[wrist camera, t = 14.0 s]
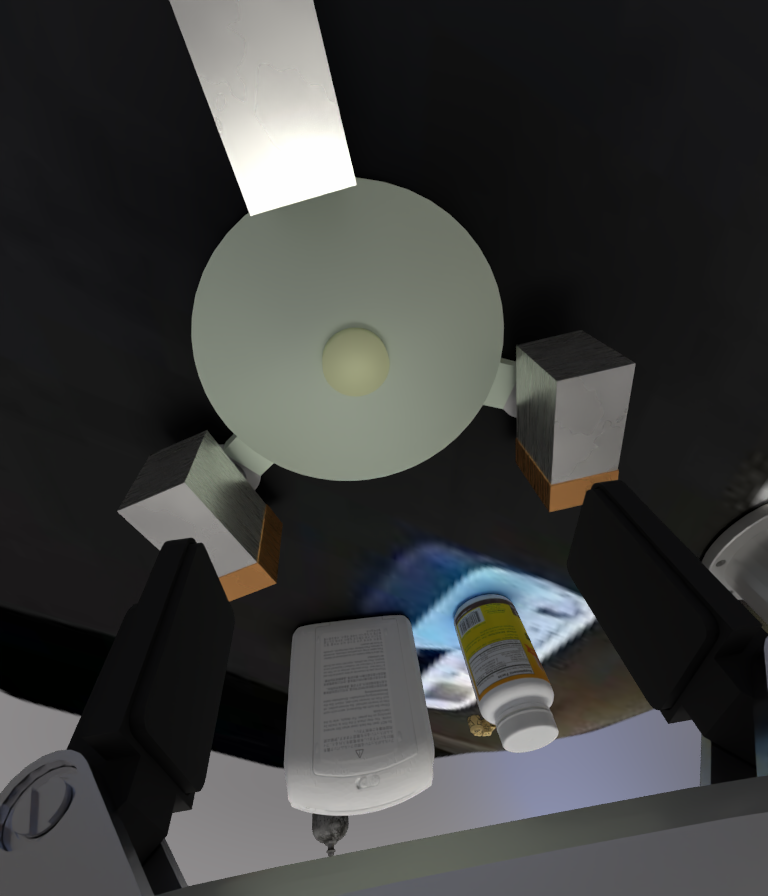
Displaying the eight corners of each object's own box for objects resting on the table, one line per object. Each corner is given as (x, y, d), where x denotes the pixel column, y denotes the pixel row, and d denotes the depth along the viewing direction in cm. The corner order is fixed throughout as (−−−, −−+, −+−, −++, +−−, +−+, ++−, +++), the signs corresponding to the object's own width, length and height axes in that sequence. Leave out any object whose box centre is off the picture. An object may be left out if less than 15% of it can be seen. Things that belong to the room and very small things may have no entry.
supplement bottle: (506, 626, 39) (558, 752, 31) (448, 632, 38) (485, 763, 30) (518, 587, 36) (580, 715, 27) (456, 593, 35) (499, 727, 27)
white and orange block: (504, 336, 22) (556, 382, 18) (568, 321, 22) (637, 363, 18) (507, 450, 27) (549, 512, 22) (560, 437, 27) (614, 496, 22)
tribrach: (572, 393, 26) (597, 415, 23) (294, 558, 30) (292, 591, 28) (354, -106, 14) (361, -161, 11) (-47, 294, 19) (-98, 312, 16)
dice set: (465, 710, 49) (470, 729, 47) (508, 701, 49) (514, 719, 47) (466, 729, 52) (471, 747, 50) (507, 721, 52) (513, 738, 50)
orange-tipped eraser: (347, 180, 18) (358, 184, 13) (267, 203, 18) (248, 216, 13) (279, -96, 13) (257, -247, 8) (174, -63, 13) (94, -194, 9)
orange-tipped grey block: (157, 440, 23) (115, 512, 18) (213, 416, 23) (185, 483, 18) (235, 528, 27) (218, 605, 22) (283, 509, 27) (276, 583, 22)
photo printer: (294, 651, 37) (286, 836, 27) (287, 622, 34) (275, 813, 24) (409, 636, 38) (443, 808, 28) (410, 607, 36) (448, 783, 25)
